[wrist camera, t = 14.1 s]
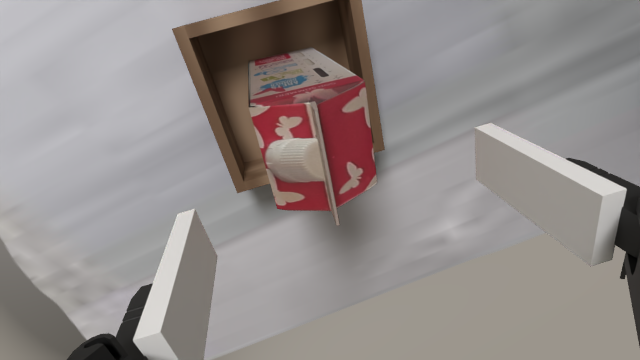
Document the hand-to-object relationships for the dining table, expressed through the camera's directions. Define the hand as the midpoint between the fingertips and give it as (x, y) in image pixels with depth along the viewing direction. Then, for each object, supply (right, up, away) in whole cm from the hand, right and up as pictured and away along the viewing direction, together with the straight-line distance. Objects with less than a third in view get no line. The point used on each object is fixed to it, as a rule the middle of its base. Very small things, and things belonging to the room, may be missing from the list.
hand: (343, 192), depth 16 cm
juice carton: (-5, +11, +21) cm, 24 cm away
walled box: (-5, +11, +22) cm, 25 cm away
